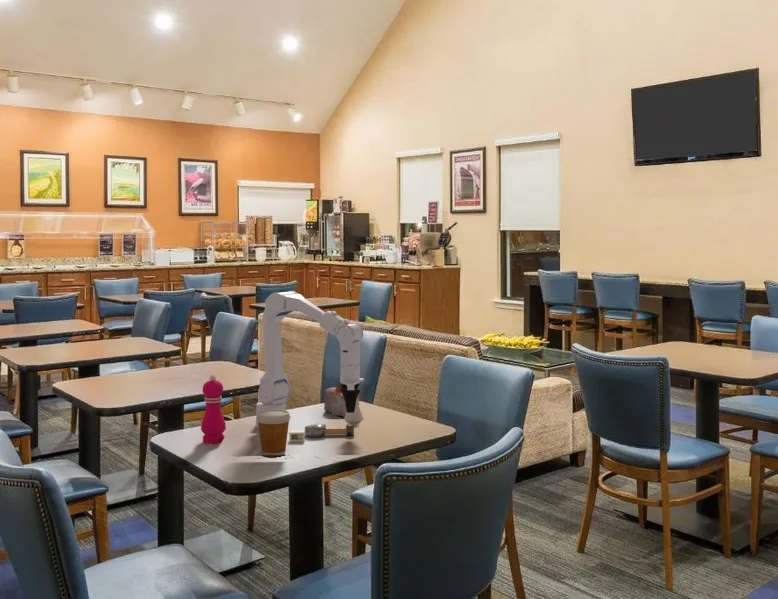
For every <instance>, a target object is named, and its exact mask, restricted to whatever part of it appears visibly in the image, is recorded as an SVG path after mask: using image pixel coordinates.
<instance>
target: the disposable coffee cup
mask: <svg viewBox="0 0 778 599" xmlns="http://www.w3.org/2000/svg"><path fill="white" fill-rule="evenodd" d="M291 418H292V417H291V415H290V412H289V411H288V410H287V409H286V410H278V409H273V410H264V411H260V412H258V415H257V417H256V416H255V420H256V419H257V422H258V426H259V428H258V433H259V440H260V447H261V451H262V453H265V454H263V455H262V457H263V458H268V459H278V458H277V457H279V458H283V457H285V456H284V455H285V454H280V453H284V452H286V448H287V442H288V435H289V433H288V432H289V423H290V421H291ZM282 456H283V457H282Z"/></svg>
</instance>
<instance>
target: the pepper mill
mask: <svg viewBox="0 0 778 599" xmlns="http://www.w3.org/2000/svg"><path fill="white" fill-rule="evenodd" d="M216 379H217V377H216V376H215V375H214V374H212V375H210V376H209V380H208V381H205V383H204V384H203V386H202V394H203V395H204V397H203V398H204V403H205V413H204V415H203V419H202V421H201V424H200V430H201V432H202V433H203V434H204V435H202V443H203V444H205V445H218V444H222V443H223V441H224V439H225V434H224V432H226V429H227V425H226V420H225V418H224V416H223V413H222V410H221V403H222V401H223V400H222V394H223V392H224V385H223V383H222V382H221V381H220V380H216Z"/></svg>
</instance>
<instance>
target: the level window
mask: <svg viewBox="0 0 778 599" xmlns="http://www.w3.org/2000/svg"><path fill="white" fill-rule="evenodd" d="M288 432H289V433H288V435H289V436H288V437H289V438H288V442H289V443H298V442H299V443H304V442H305V441H306V437H305V429H304V430H303V429H302V430H296V429H295V430H294V429H293V430H289V431H288Z"/></svg>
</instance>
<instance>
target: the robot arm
mask: <svg viewBox="0 0 778 599" xmlns="http://www.w3.org/2000/svg"><path fill="white" fill-rule="evenodd" d="M264 302H265V308H264V310H263V313H262V331H263V349H264V351H263V352H264V370H265V372H264V374H263V375H262V376H261V377H260V378H259V387H258V390H257V394H258V397H259V399H260V401H261V402H257V403H256V408H255V413H256V414H255V428H256V429H259V426H258V422H257V419H256V417H257V415H258V412H260V411H264V410H273V409H278V410H286V411H287V401H288V397H289V396H290V395H291V392H292V387H291V385H290V382H289V376H288V375H287V373H286V372H285V371H284V368H283V367H284V366H283V365H284V363H283V361H284V360H283V345H282V326H281V322H282V321H283V320H284V319H285V317H286V316H287V315H289V314H291V313H294V312H296V311H297V312H300V313H301V314H304V315H305V316H308V317H310V318H311V319H313V320H315V321H317V322H318V324H319V326H320V328H321V329H323V330H325V331H326V332H328V333H329V334H331V335H333V336H334V337H336V339H337V341H338V342H339V348H340V379H339V382H340V386H341V387H342V389H341V392H342V394H343V396H344V400H345V405H346V411H347V413H354V411H355V406H356V400H357V397H358V395H359V396H360V393H361V389H360V388H358V387H359V386H360V383H361V382H363V383H364V380H365V379H364V377H363V378H361V376H360V375H361V372H360V371H361V367H360V366H361V365H360V364H361V358H360V357H361V356H360V355H361V353H360V351H361V349H360V348H361V340H362V339H363V337H364V330H363V328H362V326H361V325H360V324H359V323H358V322H350V320H349V319H348V318H346V319H345V318H344V317H342V316H340V315H338V313H337V311H335V310H333V311H332V310H327V311H325V310H323V309H322V308H319V307H318V306H316V305H315V304H314V303H312V302H311V301H310V300H308V299H307V298H305V297H304V296H303V295H302V294H300V293H298V292H296V291H295V290H288V291H284V292H272V293H270V294H269V296H268V297H267V298H266V299H265V300H264Z"/></svg>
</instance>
